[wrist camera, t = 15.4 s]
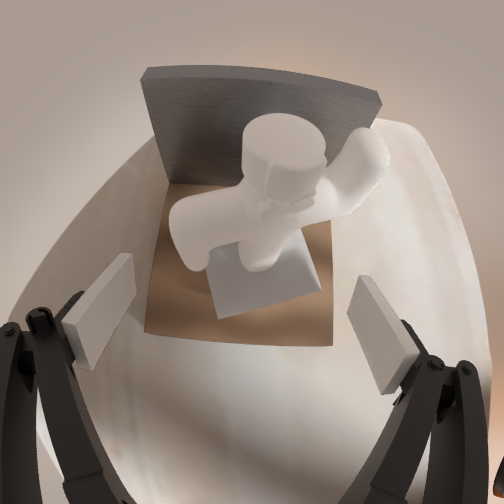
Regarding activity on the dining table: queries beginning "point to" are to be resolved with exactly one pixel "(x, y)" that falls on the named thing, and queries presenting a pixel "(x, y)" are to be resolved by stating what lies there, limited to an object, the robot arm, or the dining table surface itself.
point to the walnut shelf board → (245, 324)
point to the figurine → (273, 211)
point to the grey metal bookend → (241, 114)
